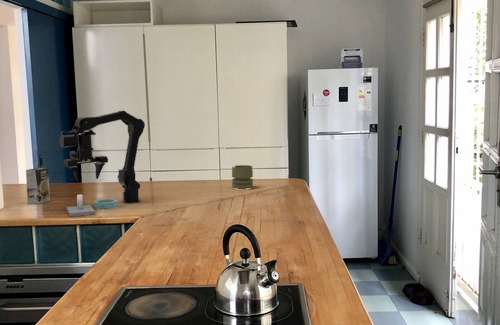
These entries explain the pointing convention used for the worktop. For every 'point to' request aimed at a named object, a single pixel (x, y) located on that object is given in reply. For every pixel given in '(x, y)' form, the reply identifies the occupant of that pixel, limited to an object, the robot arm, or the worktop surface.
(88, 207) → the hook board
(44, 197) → the coffee box
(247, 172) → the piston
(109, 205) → the teal ring
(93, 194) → the worktop surface
